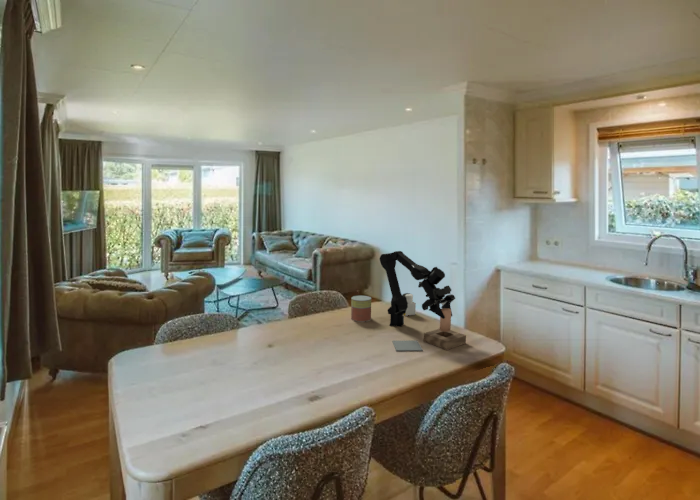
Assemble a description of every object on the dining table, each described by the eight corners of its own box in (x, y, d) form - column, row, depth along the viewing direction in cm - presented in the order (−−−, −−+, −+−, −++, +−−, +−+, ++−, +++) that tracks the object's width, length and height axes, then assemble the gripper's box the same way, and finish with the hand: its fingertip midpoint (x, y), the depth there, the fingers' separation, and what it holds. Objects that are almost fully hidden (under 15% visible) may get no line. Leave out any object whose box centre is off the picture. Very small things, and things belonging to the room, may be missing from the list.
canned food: (374, 317, 239) (375, 297, 238) (364, 323, 230) (365, 301, 228) (357, 314, 245) (357, 294, 244) (347, 319, 236) (347, 298, 234)
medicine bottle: (398, 312, 250) (399, 293, 248) (408, 311, 253) (409, 291, 251) (405, 316, 243) (405, 295, 242) (415, 314, 246) (416, 294, 245)
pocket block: (423, 341, 203) (423, 333, 202) (442, 335, 212) (443, 327, 211) (446, 349, 192) (446, 341, 192) (465, 343, 201) (466, 335, 200)
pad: (392, 341, 202) (392, 340, 202) (417, 341, 202) (417, 340, 202) (396, 351, 190) (396, 350, 190) (422, 351, 190) (422, 349, 190)
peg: (439, 331, 199) (440, 310, 198) (440, 327, 204) (441, 307, 203) (450, 332, 198) (450, 311, 196) (450, 328, 203) (451, 308, 201)
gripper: (427, 283, 195) (445, 311, 188) (453, 278, 206) (470, 305, 199) (414, 296, 202) (430, 324, 195) (440, 290, 214) (456, 317, 207)
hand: (447, 317), depth 199 cm, fingers closed on peg, 5 cm apart
